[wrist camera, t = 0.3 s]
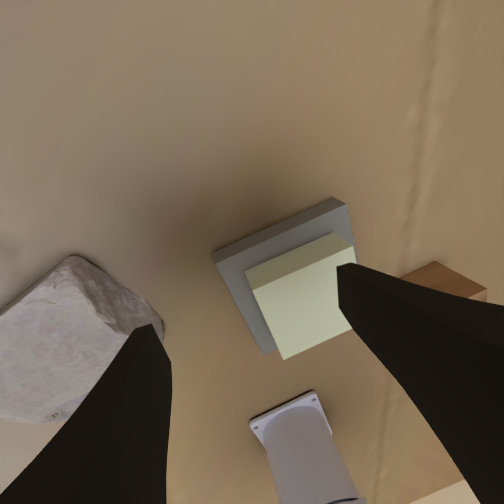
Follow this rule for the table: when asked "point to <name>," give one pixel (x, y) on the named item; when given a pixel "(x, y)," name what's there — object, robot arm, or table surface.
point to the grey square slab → (273, 245)
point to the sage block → (302, 293)
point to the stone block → (64, 340)
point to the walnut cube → (446, 281)
